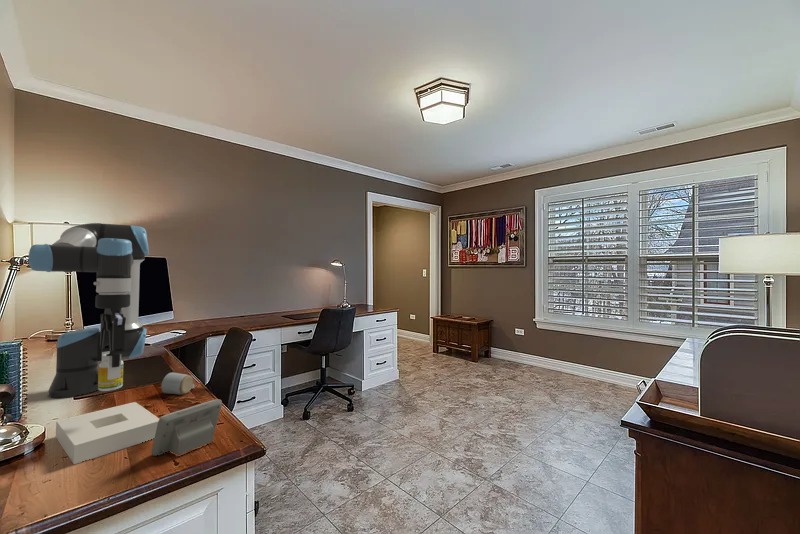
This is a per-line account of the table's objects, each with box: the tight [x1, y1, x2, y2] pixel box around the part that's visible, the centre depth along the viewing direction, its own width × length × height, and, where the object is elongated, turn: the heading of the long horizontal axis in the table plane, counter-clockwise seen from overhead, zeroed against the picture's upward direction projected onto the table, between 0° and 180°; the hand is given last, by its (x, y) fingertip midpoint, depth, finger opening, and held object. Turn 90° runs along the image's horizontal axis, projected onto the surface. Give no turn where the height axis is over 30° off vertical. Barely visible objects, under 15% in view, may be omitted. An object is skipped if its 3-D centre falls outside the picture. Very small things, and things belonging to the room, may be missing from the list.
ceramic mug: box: [161, 371, 195, 396], centre depth 131 cm, size 11×8×8 cm
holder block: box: [55, 401, 160, 465], centre depth 95 cm, size 22×18×4 cm
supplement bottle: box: [98, 353, 124, 392], centre depth 96 cm, size 5×5×10 cm
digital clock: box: [150, 398, 223, 457], centre depth 91 cm, size 16×9×11 cm, turn 137°
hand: (110, 376), depth 96 cm, fingers closed on supplement bottle, 5 cm apart
